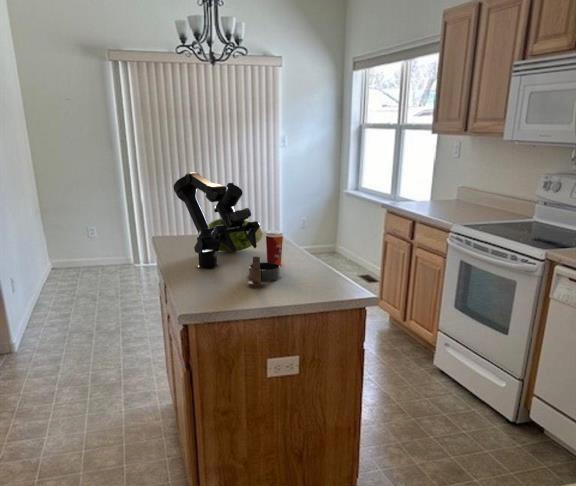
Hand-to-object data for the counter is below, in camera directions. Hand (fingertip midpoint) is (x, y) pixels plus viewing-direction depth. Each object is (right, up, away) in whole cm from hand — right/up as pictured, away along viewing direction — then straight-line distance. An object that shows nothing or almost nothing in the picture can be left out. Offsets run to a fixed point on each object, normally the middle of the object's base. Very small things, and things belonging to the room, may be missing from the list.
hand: (245, 249), depth 195 cm
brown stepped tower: (+4, -14, 0) cm, 14 cm away
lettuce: (-9, +8, +52) cm, 53 cm away
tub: (+6, -9, +11) cm, 16 cm away
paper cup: (+10, -2, +29) cm, 30 cm away
